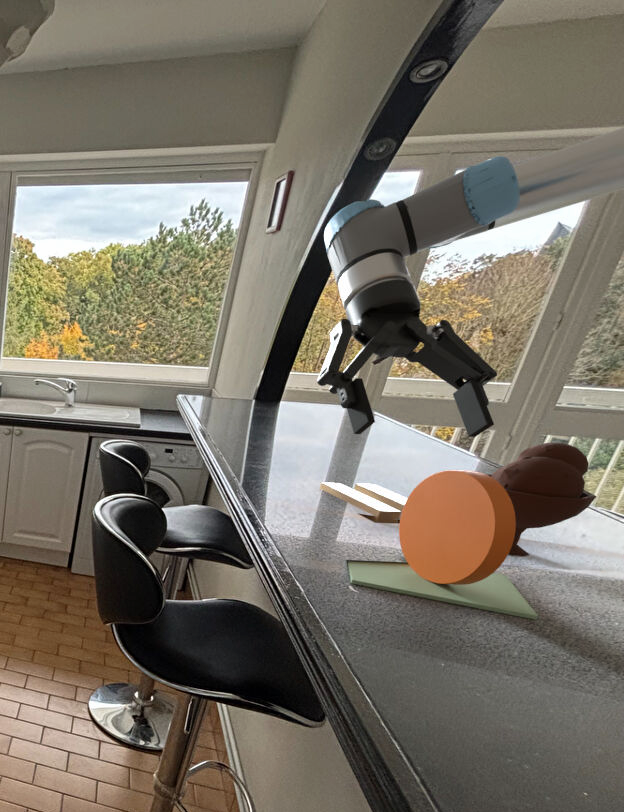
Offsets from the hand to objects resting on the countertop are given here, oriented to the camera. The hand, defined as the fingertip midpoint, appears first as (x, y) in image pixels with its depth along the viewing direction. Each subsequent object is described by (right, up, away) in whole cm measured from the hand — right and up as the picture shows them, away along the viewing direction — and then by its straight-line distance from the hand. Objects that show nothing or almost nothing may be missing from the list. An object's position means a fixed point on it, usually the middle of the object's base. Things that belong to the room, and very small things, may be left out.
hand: (422, 429), depth 72 cm
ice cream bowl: (+16, -16, +6) cm, 23 cm away
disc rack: (+11, -9, +22) cm, 26 cm away
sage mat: (-1, -18, -2) cm, 19 cm away
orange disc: (-1, -18, -2) cm, 18 cm away
